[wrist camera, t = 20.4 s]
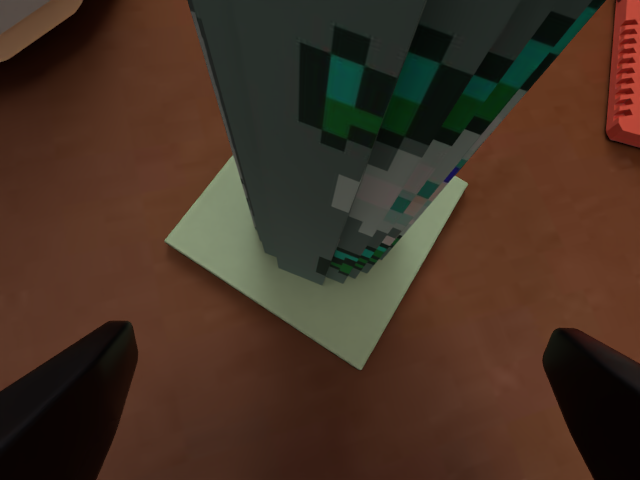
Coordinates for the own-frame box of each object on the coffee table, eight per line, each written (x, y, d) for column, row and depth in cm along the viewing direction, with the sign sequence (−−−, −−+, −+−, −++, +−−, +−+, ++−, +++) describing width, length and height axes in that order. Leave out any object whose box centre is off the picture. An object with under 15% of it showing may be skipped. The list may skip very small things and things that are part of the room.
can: (366, 303, 17) (704, 28, 3) (235, 250, 18) (-19, -224, 3) (409, 182, 19) (754, -355, 5) (289, 136, 19) (275, -498, 5)
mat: (167, 244, 18) (163, 240, 18) (291, 86, 21) (291, 80, 20) (359, 370, 17) (361, 370, 17) (464, 187, 20) (468, 183, 19)
